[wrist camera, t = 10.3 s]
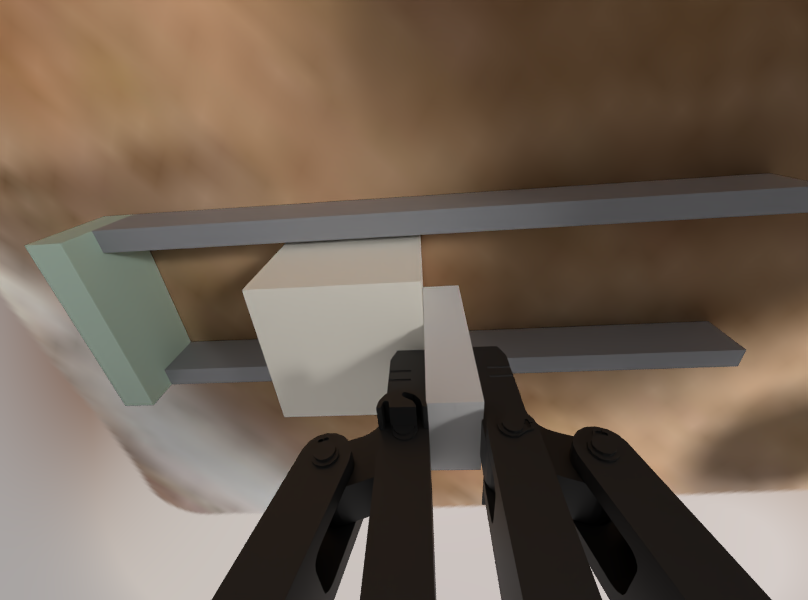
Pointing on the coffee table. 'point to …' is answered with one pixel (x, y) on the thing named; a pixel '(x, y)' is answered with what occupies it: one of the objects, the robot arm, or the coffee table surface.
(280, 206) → the chute
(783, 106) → the coffee table surface
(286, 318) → the block
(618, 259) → the coffee table surface
